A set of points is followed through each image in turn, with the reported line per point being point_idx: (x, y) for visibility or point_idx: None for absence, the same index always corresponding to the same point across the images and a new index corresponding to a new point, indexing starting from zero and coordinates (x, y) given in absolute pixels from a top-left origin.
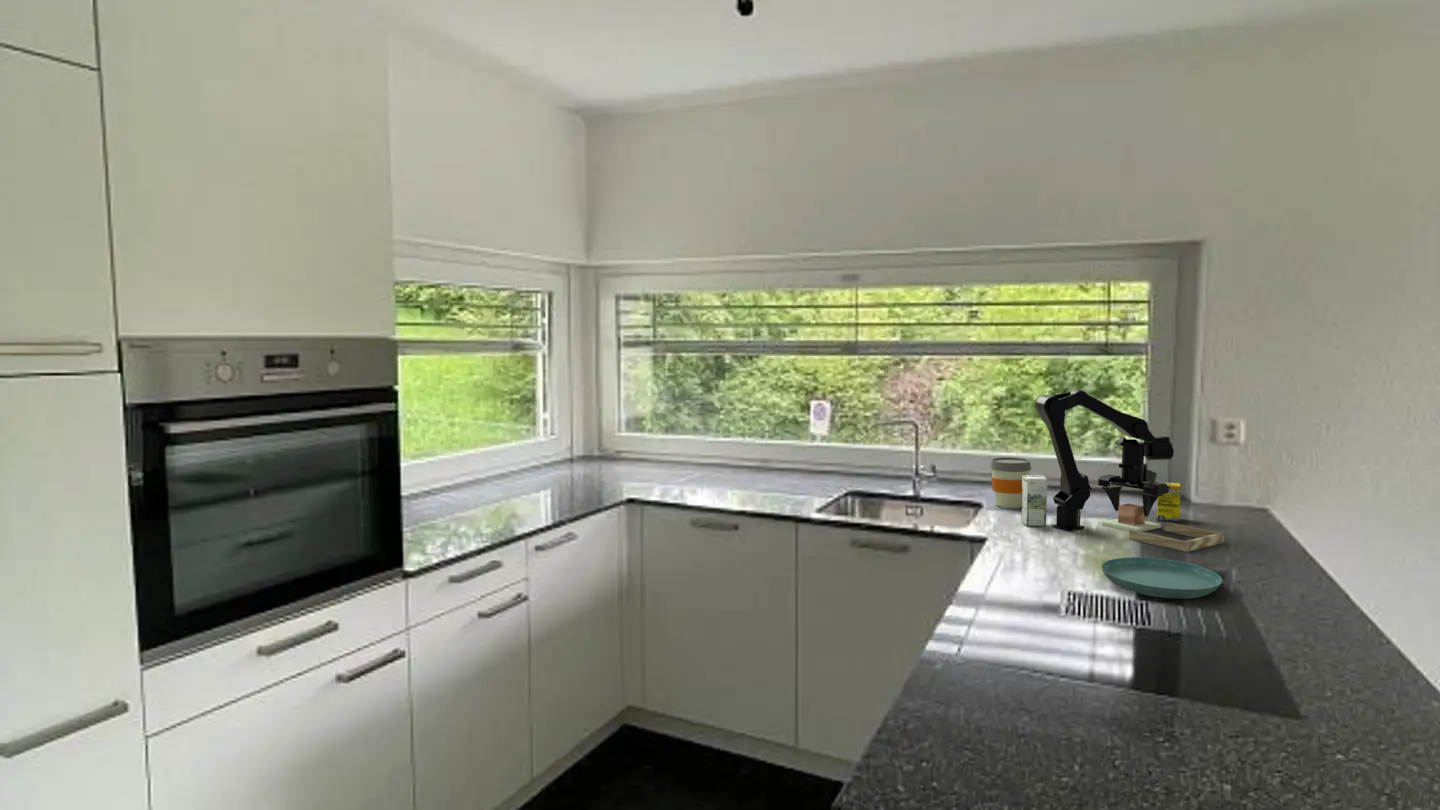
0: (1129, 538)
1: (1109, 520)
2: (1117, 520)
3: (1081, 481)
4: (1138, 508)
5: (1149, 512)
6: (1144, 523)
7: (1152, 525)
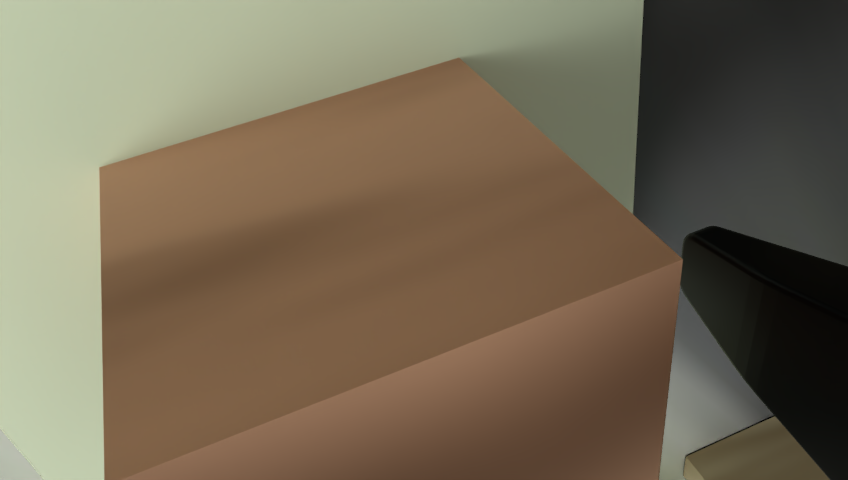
0: (692, 477)
1: (48, 473)
2: (77, 368)
3: None
4: (649, 449)
5: (800, 262)
6: (459, 66)
7: (623, 37)
